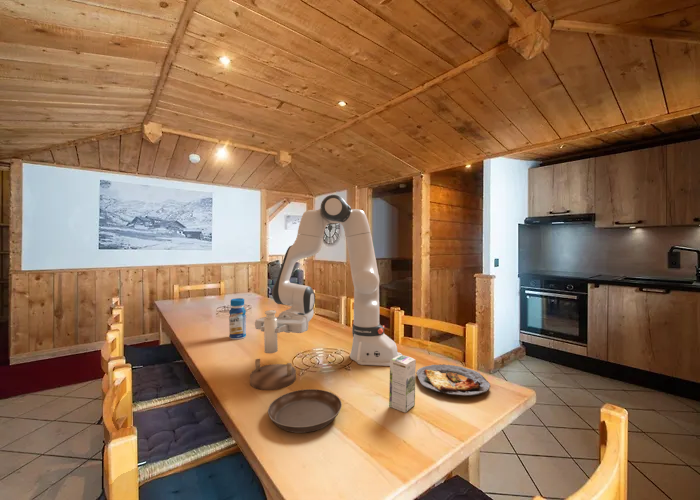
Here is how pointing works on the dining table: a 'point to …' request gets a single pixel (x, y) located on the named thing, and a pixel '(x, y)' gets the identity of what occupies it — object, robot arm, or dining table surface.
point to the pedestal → (272, 376)
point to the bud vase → (270, 332)
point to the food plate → (452, 380)
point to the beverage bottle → (237, 319)
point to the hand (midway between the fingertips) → (269, 330)
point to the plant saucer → (304, 410)
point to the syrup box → (402, 383)
